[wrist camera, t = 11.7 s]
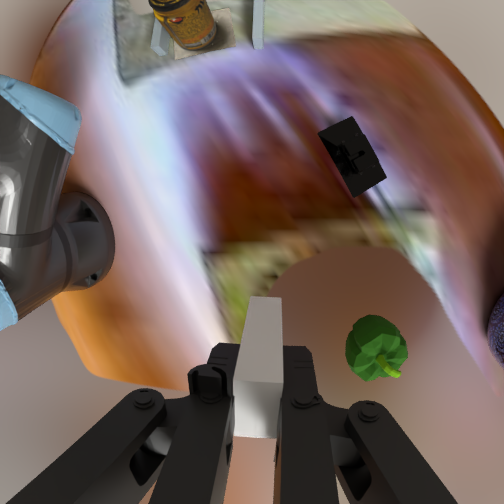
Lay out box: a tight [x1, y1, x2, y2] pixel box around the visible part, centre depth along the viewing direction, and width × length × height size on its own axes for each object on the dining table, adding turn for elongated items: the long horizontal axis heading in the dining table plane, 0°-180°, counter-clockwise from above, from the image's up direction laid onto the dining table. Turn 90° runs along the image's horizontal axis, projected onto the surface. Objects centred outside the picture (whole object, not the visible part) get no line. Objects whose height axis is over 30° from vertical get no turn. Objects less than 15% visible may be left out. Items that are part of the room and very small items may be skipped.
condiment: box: [149, 0, 236, 60], centre depth 26 cm, size 7×8×12 cm
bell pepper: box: [345, 315, 408, 381], centre depth 36 cm, size 8×8×10 cm
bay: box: [151, 0, 265, 56], centre depth 29 cm, size 14×14×4 cm
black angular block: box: [318, 116, 387, 198], centre depth 33 cm, size 12×7×5 cm, turn 31°
